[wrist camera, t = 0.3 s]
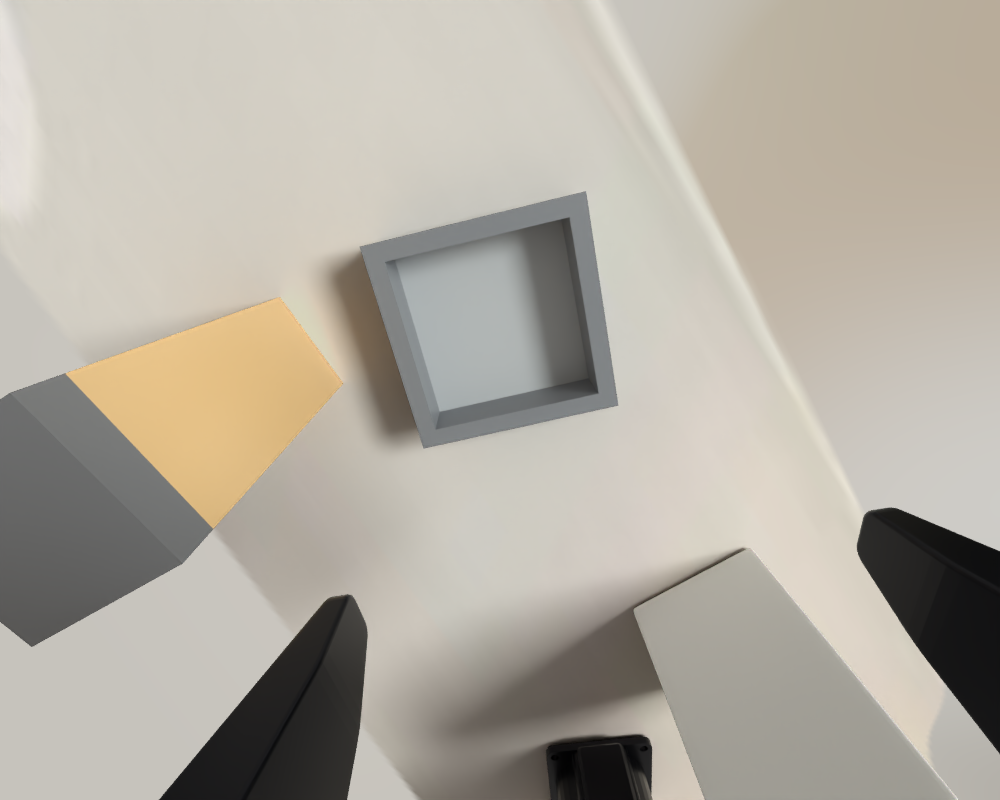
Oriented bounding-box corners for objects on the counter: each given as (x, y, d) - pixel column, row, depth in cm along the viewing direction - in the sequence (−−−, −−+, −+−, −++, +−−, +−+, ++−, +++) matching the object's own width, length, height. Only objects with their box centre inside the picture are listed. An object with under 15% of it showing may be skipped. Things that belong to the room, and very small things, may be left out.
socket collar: (604, 386, 22) (618, 405, 19) (430, 425, 22) (423, 448, 20) (573, 195, 19) (586, 191, 17) (374, 243, 19) (359, 246, 17)
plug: (343, 383, 21) (182, 563, 10) (265, 429, 22) (31, 646, 11) (279, 296, 20) (9, 393, 9) (198, 348, 20) (-151, 500, 9)
